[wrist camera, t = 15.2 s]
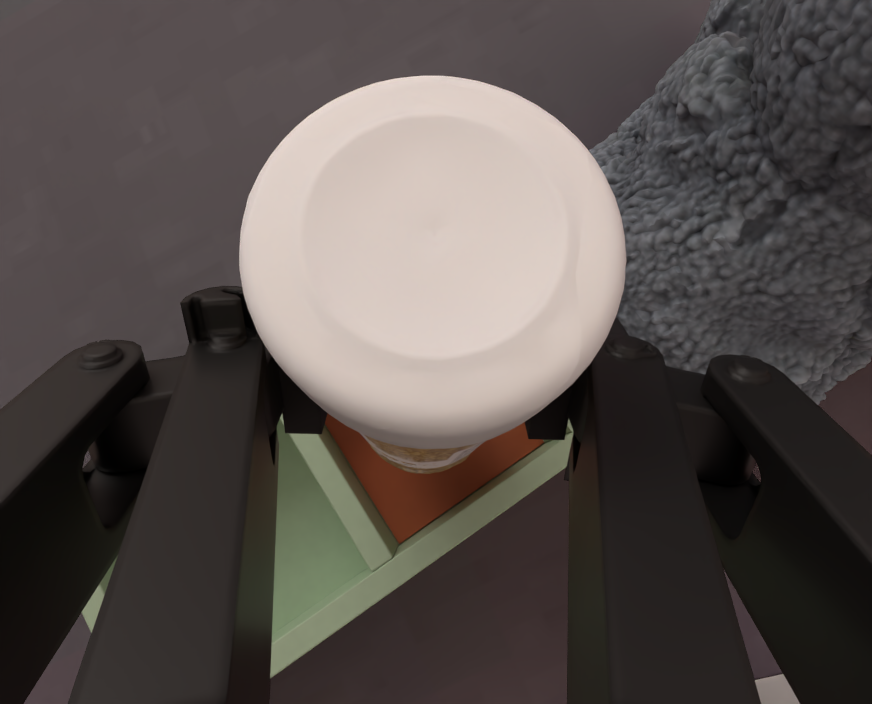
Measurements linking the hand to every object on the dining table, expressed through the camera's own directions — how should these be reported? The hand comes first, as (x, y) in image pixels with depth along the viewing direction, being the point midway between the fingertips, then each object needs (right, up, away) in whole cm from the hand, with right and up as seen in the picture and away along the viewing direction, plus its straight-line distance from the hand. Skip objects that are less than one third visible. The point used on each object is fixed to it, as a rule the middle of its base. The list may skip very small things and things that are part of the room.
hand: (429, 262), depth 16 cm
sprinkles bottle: (0, -5, +3) cm, 6 cm away
